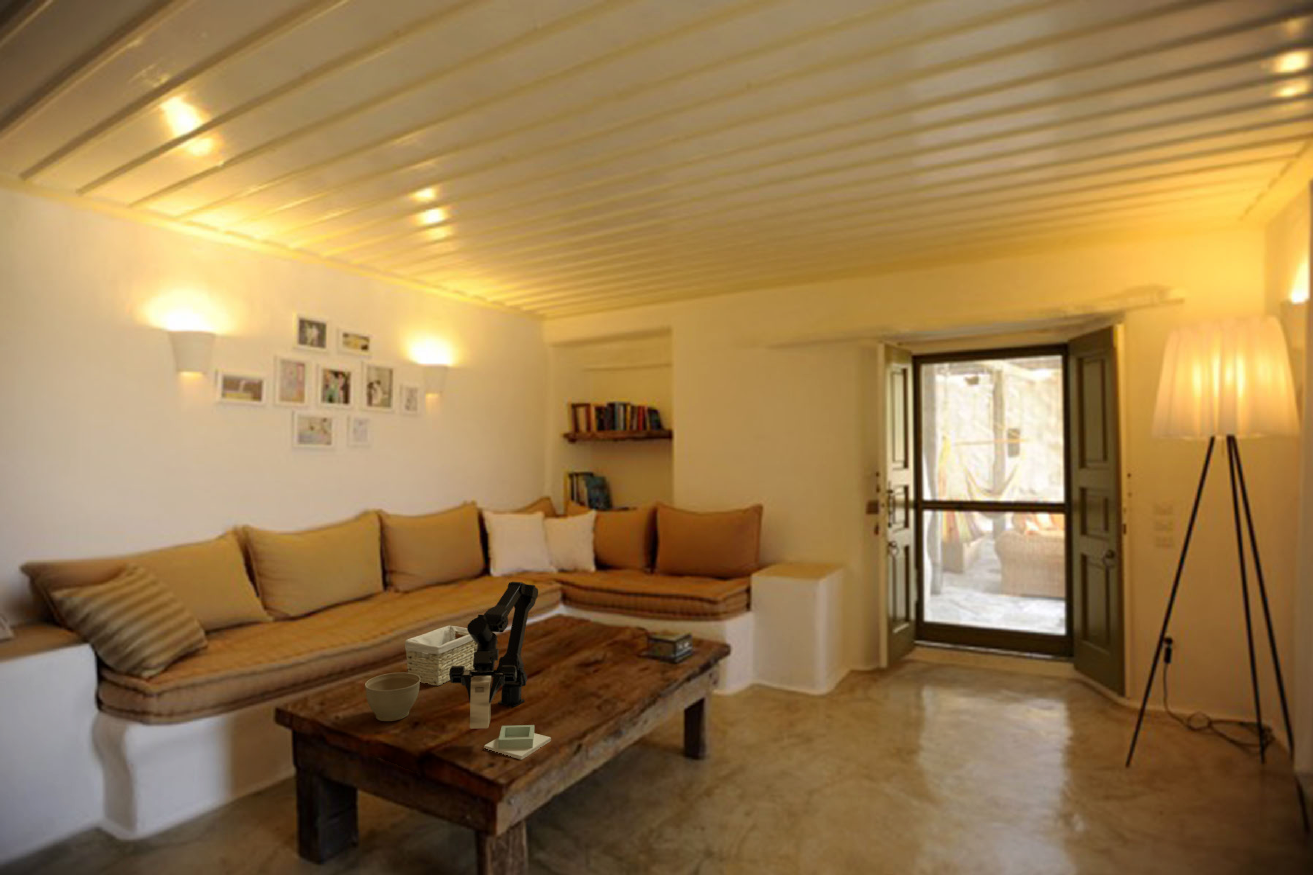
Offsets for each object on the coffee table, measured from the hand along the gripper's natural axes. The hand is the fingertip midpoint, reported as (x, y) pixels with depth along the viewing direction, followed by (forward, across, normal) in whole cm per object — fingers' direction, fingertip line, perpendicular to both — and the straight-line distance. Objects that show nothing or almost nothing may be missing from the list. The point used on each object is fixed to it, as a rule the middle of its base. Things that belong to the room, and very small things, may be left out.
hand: (480, 702), depth 191 cm
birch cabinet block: (+4, 0, +6) cm, 7 cm away
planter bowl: (-7, -30, +25) cm, 40 cm away
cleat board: (+8, +10, +9) cm, 16 cm away
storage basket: (-34, -22, +52) cm, 66 cm away
